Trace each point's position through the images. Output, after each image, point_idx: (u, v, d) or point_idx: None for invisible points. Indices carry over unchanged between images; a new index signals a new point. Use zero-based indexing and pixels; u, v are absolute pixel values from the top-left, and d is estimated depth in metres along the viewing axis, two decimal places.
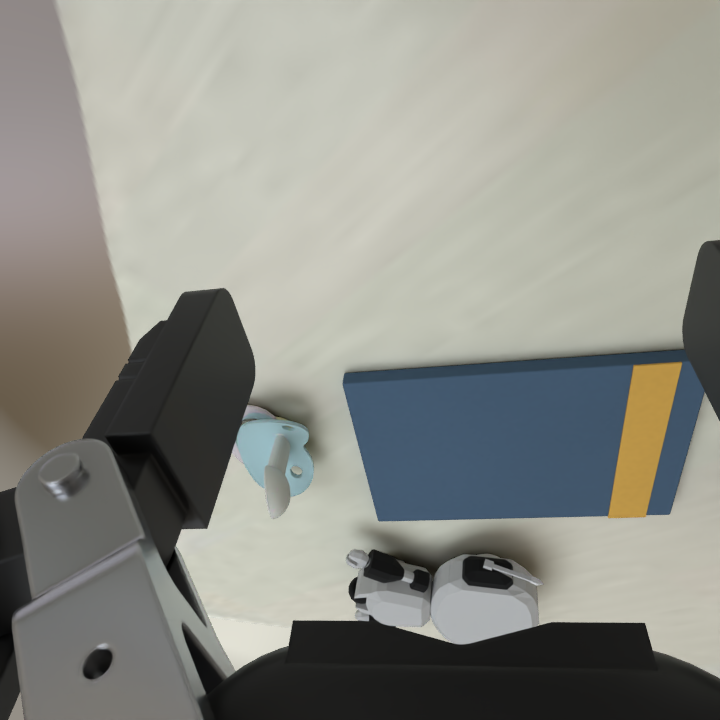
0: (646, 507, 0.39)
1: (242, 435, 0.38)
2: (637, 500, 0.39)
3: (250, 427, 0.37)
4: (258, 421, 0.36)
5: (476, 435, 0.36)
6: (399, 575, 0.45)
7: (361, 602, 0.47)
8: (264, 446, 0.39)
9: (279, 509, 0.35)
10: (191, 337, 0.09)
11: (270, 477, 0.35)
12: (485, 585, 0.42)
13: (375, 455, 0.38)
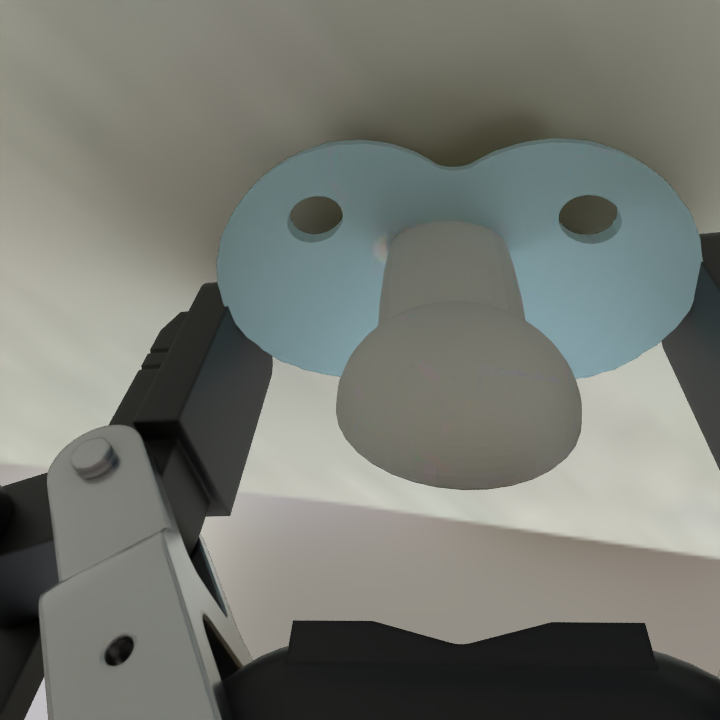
0: None
1: None
2: None
3: (318, 339, 0.11)
4: (238, 321, 0.10)
5: None
6: None
7: None
8: None
9: (451, 433, 0.06)
10: (214, 327, 0.09)
11: None
12: None
13: None
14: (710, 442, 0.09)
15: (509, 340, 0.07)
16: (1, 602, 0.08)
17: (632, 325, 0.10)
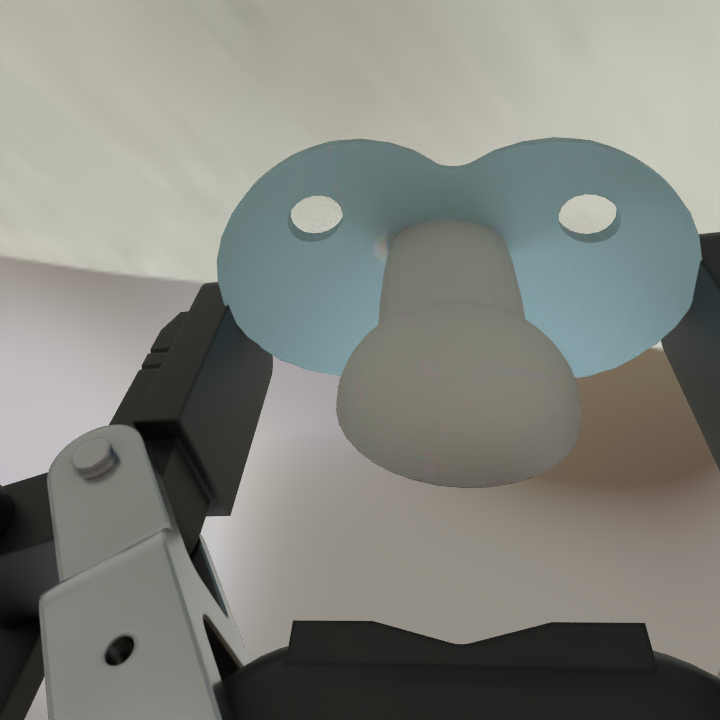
0: None
1: None
2: None
3: (318, 338, 0.11)
4: (238, 321, 0.10)
5: None
6: None
7: None
8: None
9: (451, 431, 0.06)
10: (214, 327, 0.09)
11: None
12: None
13: None
14: (710, 442, 0.09)
15: (509, 339, 0.07)
16: (1, 602, 0.08)
17: (632, 324, 0.10)
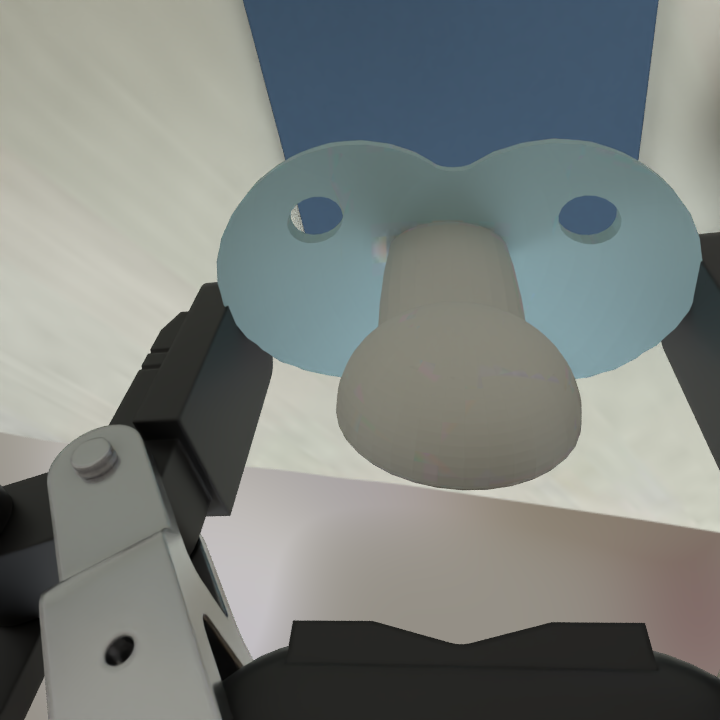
0: None
1: None
2: None
3: (318, 339, 0.11)
4: (238, 322, 0.10)
5: None
6: None
7: None
8: None
9: (451, 433, 0.06)
10: (214, 327, 0.09)
11: None
12: None
13: None
14: (710, 442, 0.09)
15: (509, 340, 0.07)
16: (1, 602, 0.08)
17: (632, 325, 0.10)
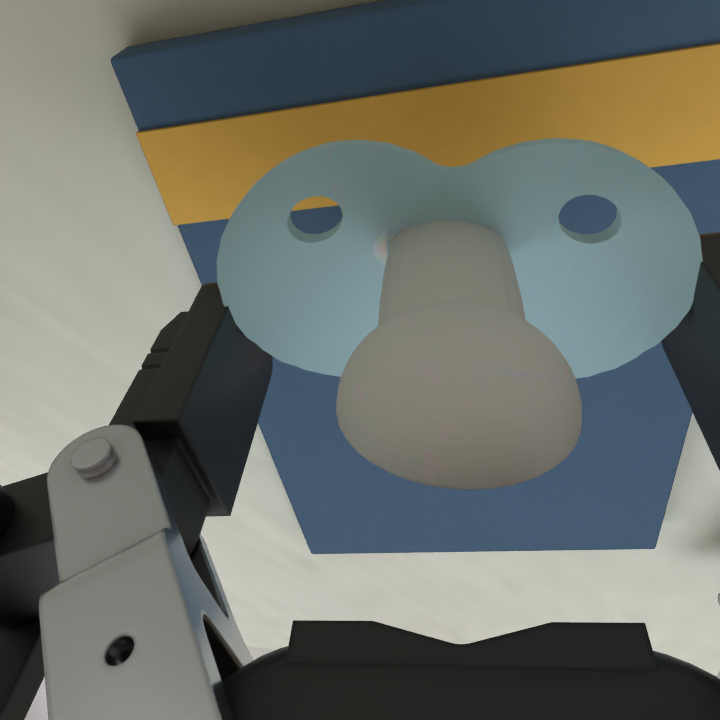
0: None
1: None
2: (685, 88, 0.12)
3: (318, 339, 0.11)
4: (238, 322, 0.10)
5: None
6: None
7: None
8: None
9: (451, 433, 0.06)
10: (214, 327, 0.09)
11: None
12: None
13: (461, 540, 0.24)
14: (710, 442, 0.09)
15: (509, 340, 0.07)
16: (1, 602, 0.08)
17: (632, 325, 0.10)
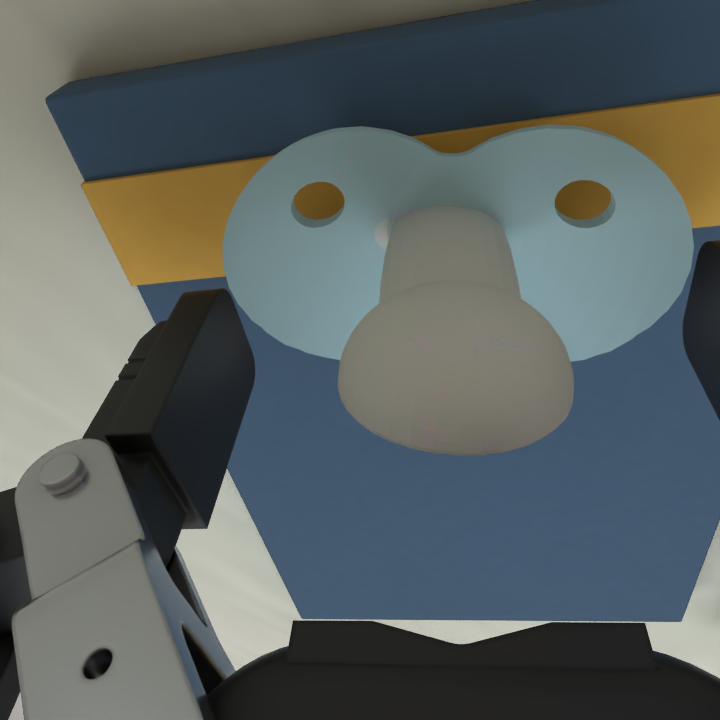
0: None
1: None
2: None
3: (320, 323, 0.11)
4: (243, 304, 0.10)
5: (404, 503, 0.18)
6: None
7: None
8: None
9: (447, 400, 0.06)
10: (191, 337, 0.09)
11: None
12: None
13: (466, 609, 0.22)
14: None
15: (503, 314, 0.07)
16: None
17: (626, 308, 0.10)
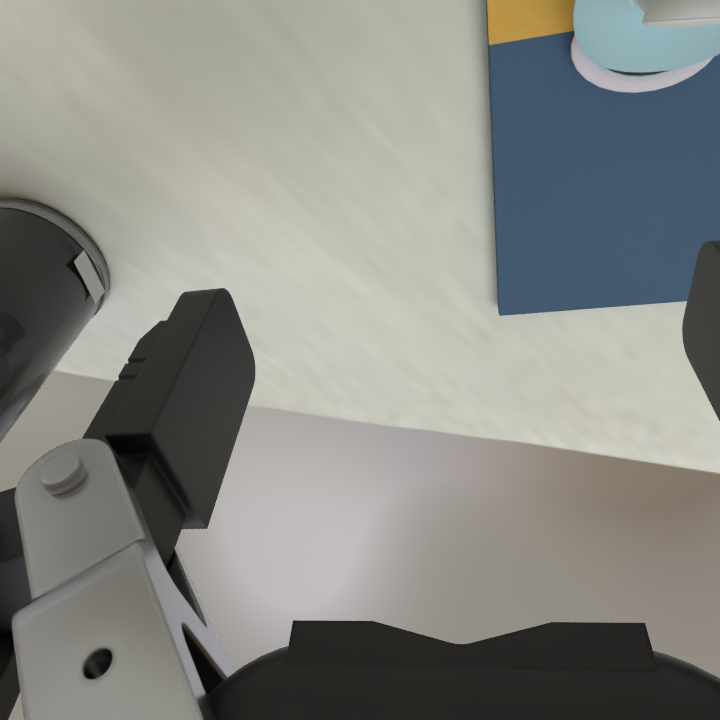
0: None
1: (616, 60, 0.26)
2: None
3: (597, 44, 0.26)
4: None
5: (590, 199, 0.32)
6: None
7: None
8: (655, 28, 0.25)
9: (701, 0, 0.20)
10: (191, 337, 0.09)
11: (647, 13, 0.22)
12: None
13: (608, 295, 0.36)
14: None
15: None
16: None
17: None
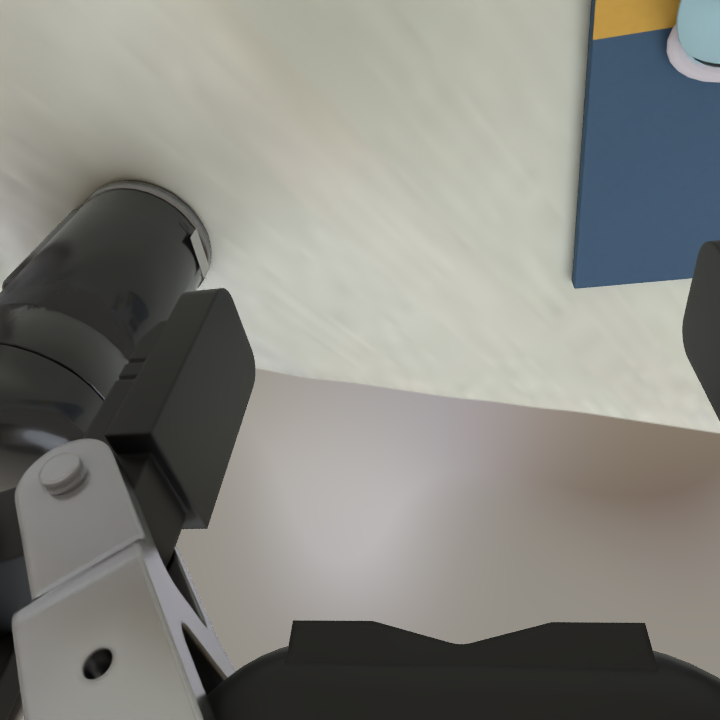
0: None
1: (708, 53, 0.30)
2: None
3: (694, 39, 0.29)
4: (677, 23, 0.29)
5: (668, 179, 0.36)
6: None
7: None
8: None
9: None
10: (191, 337, 0.09)
11: None
12: None
13: (676, 268, 0.40)
14: None
15: None
16: None
17: None
